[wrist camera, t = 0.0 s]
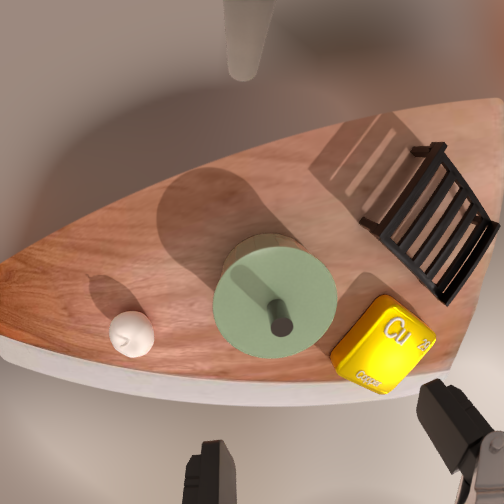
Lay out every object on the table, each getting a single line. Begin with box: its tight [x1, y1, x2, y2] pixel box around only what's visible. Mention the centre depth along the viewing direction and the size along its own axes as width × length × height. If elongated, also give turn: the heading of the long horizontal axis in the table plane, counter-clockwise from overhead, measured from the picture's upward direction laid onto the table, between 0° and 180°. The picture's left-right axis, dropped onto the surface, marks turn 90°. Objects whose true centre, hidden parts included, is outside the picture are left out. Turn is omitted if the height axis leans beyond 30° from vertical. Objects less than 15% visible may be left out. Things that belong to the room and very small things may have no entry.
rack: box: [359, 142, 500, 307], centre depth 38 cm, size 18×16×8 cm
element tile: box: [330, 295, 436, 394], centre depth 46 cm, size 15×15×5 cm
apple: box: [109, 311, 154, 357], centre depth 40 cm, size 7×7×8 cm
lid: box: [213, 245, 337, 358], centre depth 33 cm, size 15×15×6 cm
